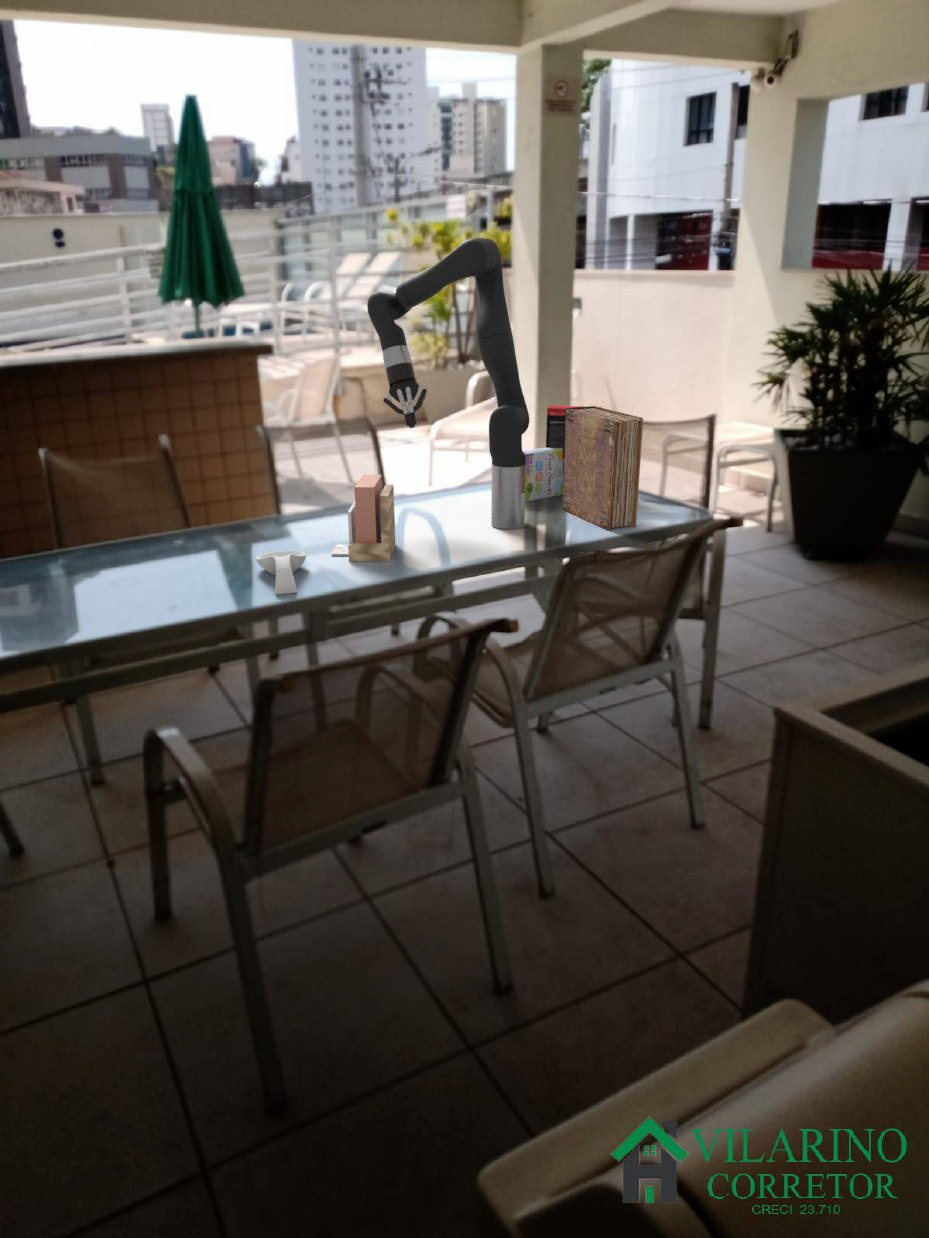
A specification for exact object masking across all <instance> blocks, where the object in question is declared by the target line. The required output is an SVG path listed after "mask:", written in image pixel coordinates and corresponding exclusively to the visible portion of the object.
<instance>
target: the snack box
mask: <svg viewBox="0 0 929 1238" xmlns="http://www.w3.org/2000/svg"><path fill="white" fill-rule="evenodd" d="M522 451H523V453H524V454H525V456H526V464H525V503H527V502H532V501H538V500H542V499H548V498H554V497H558V496H563V486H564V475H563V449H562V448H546V446H545V447H540V448H538V447H537V448H532V449H526V450H522Z"/></svg>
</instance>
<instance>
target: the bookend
mask: <svg viewBox="0 0 929 1238" xmlns="http://www.w3.org/2000/svg"><path fill="white" fill-rule="evenodd" d="M347 523H348V525H347V526H348V527H347V528H348V540H349V541H348V542H349V543H357V529H356V510H355V500H354V501H353V502H352V505H351V506H350V508H349V509H348V510H347ZM349 543H348V544H336V546H335V547H334V549H333V551H332V552H331V557H349V553H348V545H349Z"/></svg>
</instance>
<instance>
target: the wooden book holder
mask: <svg viewBox="0 0 929 1238" xmlns="http://www.w3.org/2000/svg"><path fill="white" fill-rule="evenodd" d="M394 488H395V487H394V484H385V485H384V487H383V488H382V492H381V494H380V517H381V542H382V543H348V544H347V545H348V553H349V556H348V562H390V561H391V558H392V556H393V552H394V550H395V548H396V545H397V544H396V521H395V496H394V495H395V490H394Z"/></svg>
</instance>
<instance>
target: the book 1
mask: <svg viewBox="0 0 929 1238" xmlns="http://www.w3.org/2000/svg"><path fill="white" fill-rule="evenodd" d="M382 490H383V479H382V474H362V475H361V477H360V478H359V480H358V481H357V483H356V484H355V486H354V501H355V510H356V529H357V543H382V542H381V517H380V494H381V492H382Z"/></svg>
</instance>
